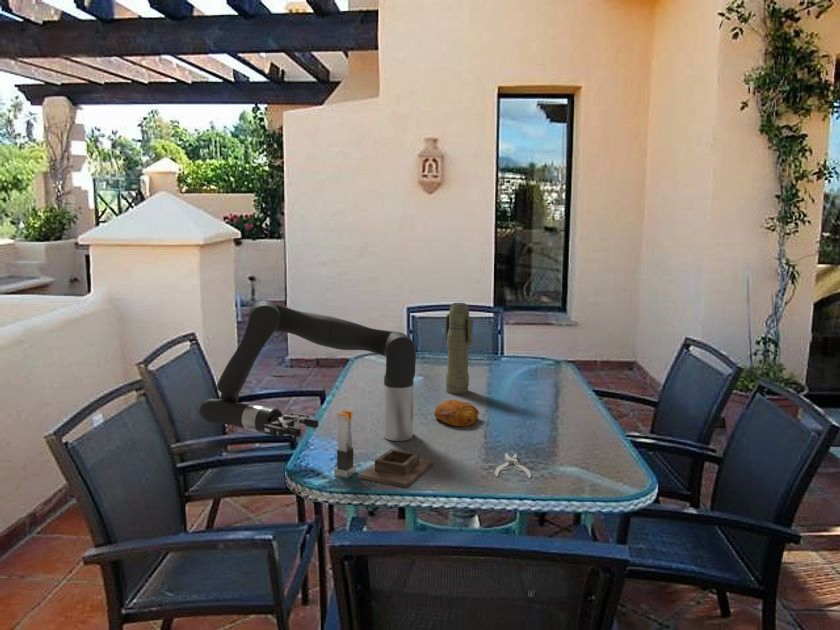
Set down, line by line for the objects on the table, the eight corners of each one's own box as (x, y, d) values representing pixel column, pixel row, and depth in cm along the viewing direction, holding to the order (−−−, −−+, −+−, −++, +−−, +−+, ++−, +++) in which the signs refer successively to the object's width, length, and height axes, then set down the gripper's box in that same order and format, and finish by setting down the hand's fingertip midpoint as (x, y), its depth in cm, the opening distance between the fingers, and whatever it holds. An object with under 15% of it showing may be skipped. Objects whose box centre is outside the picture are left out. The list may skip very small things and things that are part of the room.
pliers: (495, 472, 189) (493, 452, 204) (495, 478, 189) (493, 457, 204) (531, 474, 188) (527, 454, 203) (531, 479, 188) (527, 459, 203)
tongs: (343, 468, 193) (343, 408, 190) (356, 471, 191) (356, 410, 188) (334, 475, 188) (333, 413, 185) (346, 478, 187) (346, 415, 184)
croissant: (452, 436, 227) (454, 414, 225) (426, 417, 239) (428, 396, 237) (487, 428, 235) (489, 406, 232) (460, 409, 247) (462, 389, 245)
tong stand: (389, 455, 203) (389, 442, 202) (433, 464, 197) (433, 450, 197) (359, 477, 187) (359, 463, 186) (405, 487, 181) (406, 473, 180)
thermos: (465, 396, 265) (467, 306, 259) (438, 391, 271) (440, 303, 265) (475, 391, 272) (478, 303, 266) (449, 386, 278) (451, 300, 272)
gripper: (245, 413, 192) (294, 422, 185) (276, 400, 205) (323, 408, 198) (246, 439, 193) (294, 449, 186) (276, 424, 206) (323, 433, 199)
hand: (309, 428), depth 192 cm, fingers open, 8 cm apart
